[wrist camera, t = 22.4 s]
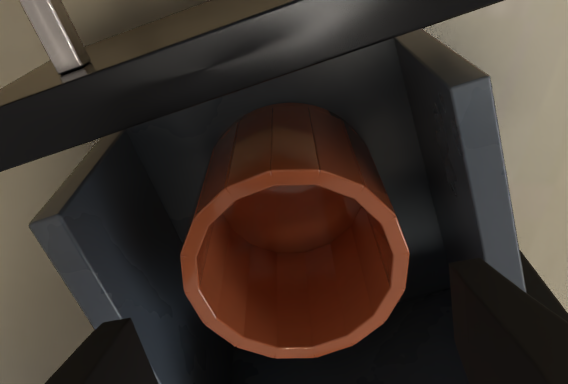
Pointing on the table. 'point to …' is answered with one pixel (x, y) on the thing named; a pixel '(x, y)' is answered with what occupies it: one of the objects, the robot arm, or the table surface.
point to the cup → (293, 236)
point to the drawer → (208, 129)
